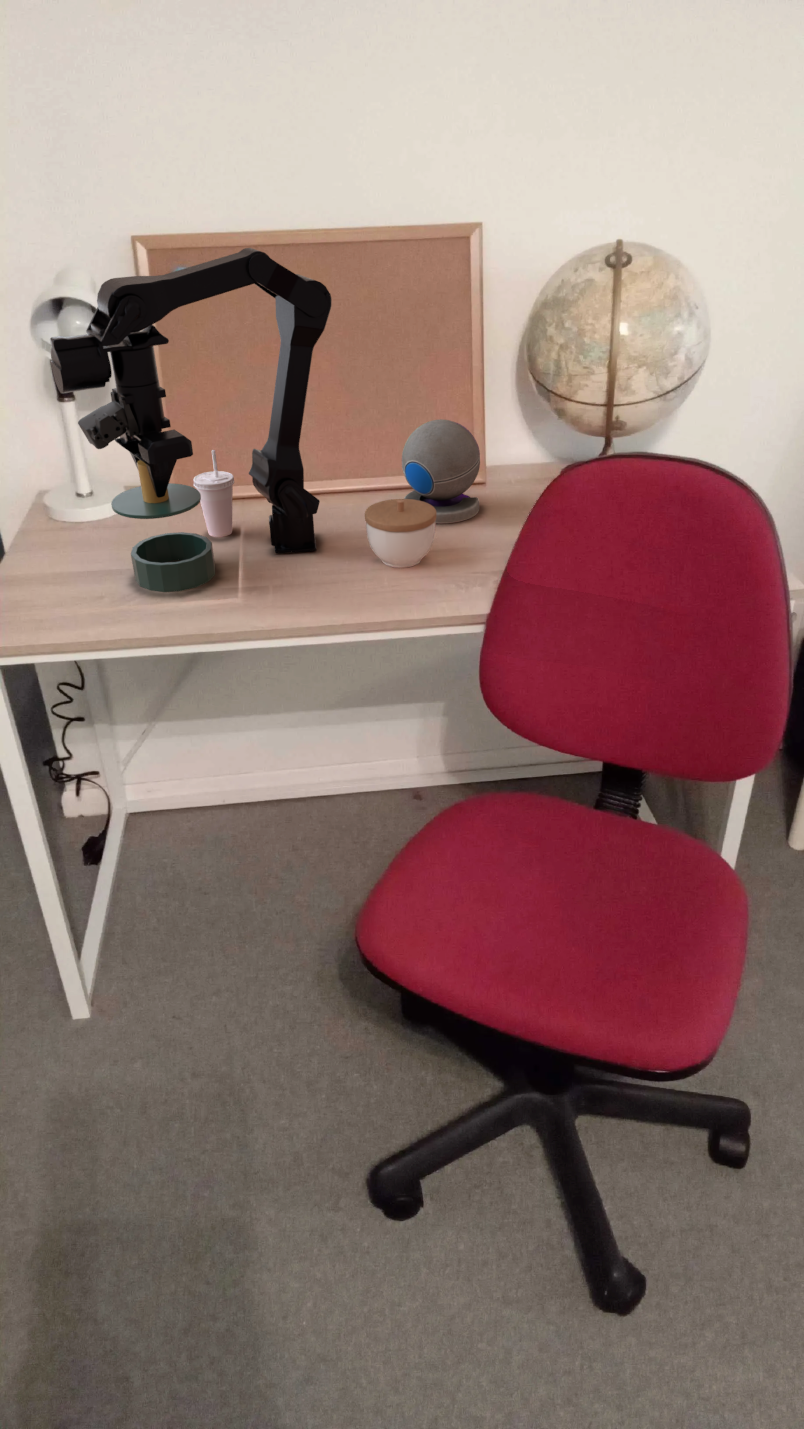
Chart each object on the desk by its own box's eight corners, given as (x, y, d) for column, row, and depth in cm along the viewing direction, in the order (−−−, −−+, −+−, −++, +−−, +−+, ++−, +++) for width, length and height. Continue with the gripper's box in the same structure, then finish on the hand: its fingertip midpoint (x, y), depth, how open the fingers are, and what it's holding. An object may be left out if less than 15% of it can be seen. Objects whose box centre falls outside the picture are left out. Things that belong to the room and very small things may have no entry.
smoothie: (231, 544, 157) (220, 457, 150) (194, 541, 159) (181, 455, 151) (246, 529, 163) (237, 445, 155) (210, 526, 164) (199, 442, 157)
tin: (216, 559, 153) (213, 529, 150) (214, 592, 143) (210, 561, 141) (140, 564, 152) (135, 534, 149) (132, 597, 142) (127, 567, 140)
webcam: (493, 507, 169) (496, 419, 161) (446, 530, 161) (446, 439, 153) (434, 490, 176) (435, 405, 168) (386, 511, 168) (384, 423, 160)
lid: (203, 487, 148) (197, 444, 145) (199, 520, 138) (192, 474, 134) (118, 492, 147) (110, 449, 144) (107, 525, 137) (98, 479, 133)
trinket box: (447, 551, 154) (447, 493, 149) (419, 579, 146) (418, 519, 141) (385, 540, 158) (383, 484, 153) (354, 567, 150) (351, 508, 144)
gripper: (56, 376, 136) (79, 485, 145) (102, 408, 123) (124, 526, 131) (133, 363, 141) (151, 470, 150) (186, 393, 128) (202, 507, 136)
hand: (155, 492), depth 142 cm, fingers closed on lid, 3 cm apart
